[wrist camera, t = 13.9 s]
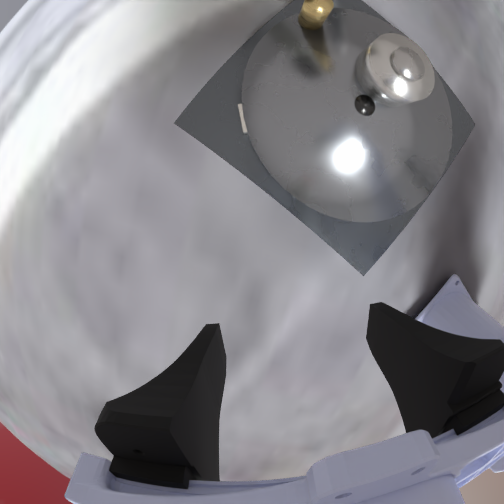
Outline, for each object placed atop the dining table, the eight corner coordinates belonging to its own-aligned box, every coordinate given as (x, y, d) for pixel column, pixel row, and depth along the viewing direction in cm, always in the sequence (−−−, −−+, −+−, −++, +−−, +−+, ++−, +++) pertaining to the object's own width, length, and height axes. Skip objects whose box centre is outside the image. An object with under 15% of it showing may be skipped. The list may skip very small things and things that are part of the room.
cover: (396, 44, 14) (419, 29, 11) (422, 101, 15) (449, 94, 12) (343, 51, 15) (361, 32, 11) (371, 113, 16) (395, 105, 13)
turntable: (417, 25, 14) (442, 10, 10) (451, 205, 19) (482, 215, 15) (220, 22, 15) (214, -5, 11) (263, 236, 20) (266, 256, 16)
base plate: (471, 124, 18) (475, 124, 17) (360, 273, 22) (363, 276, 22) (325, -20, 14) (326, -24, 13) (176, 124, 18) (174, 123, 18)
